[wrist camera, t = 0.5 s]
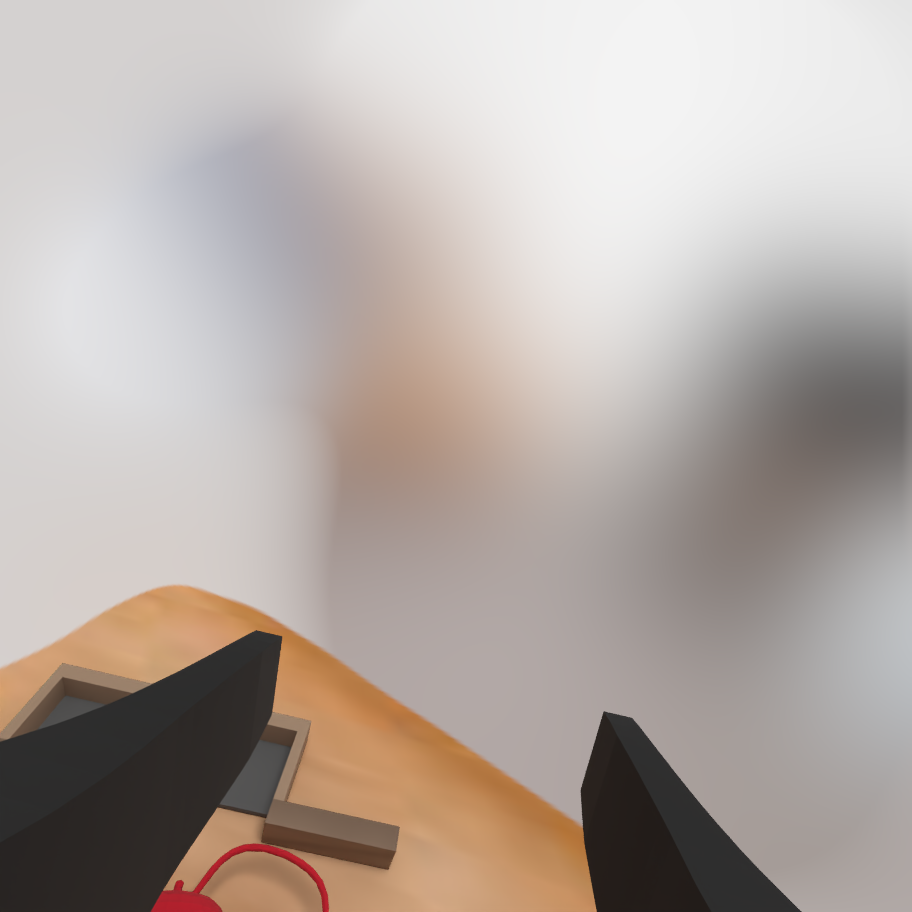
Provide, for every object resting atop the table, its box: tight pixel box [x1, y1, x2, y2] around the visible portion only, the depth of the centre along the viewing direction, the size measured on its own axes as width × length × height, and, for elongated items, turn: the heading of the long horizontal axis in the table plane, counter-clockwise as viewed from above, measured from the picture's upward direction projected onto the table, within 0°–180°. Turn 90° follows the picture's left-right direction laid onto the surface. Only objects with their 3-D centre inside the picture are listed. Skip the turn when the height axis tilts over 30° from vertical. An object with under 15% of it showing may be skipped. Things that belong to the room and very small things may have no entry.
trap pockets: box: [0, 663, 311, 818], centre depth 26 cm, size 4×13×2 cm, turn 86°
